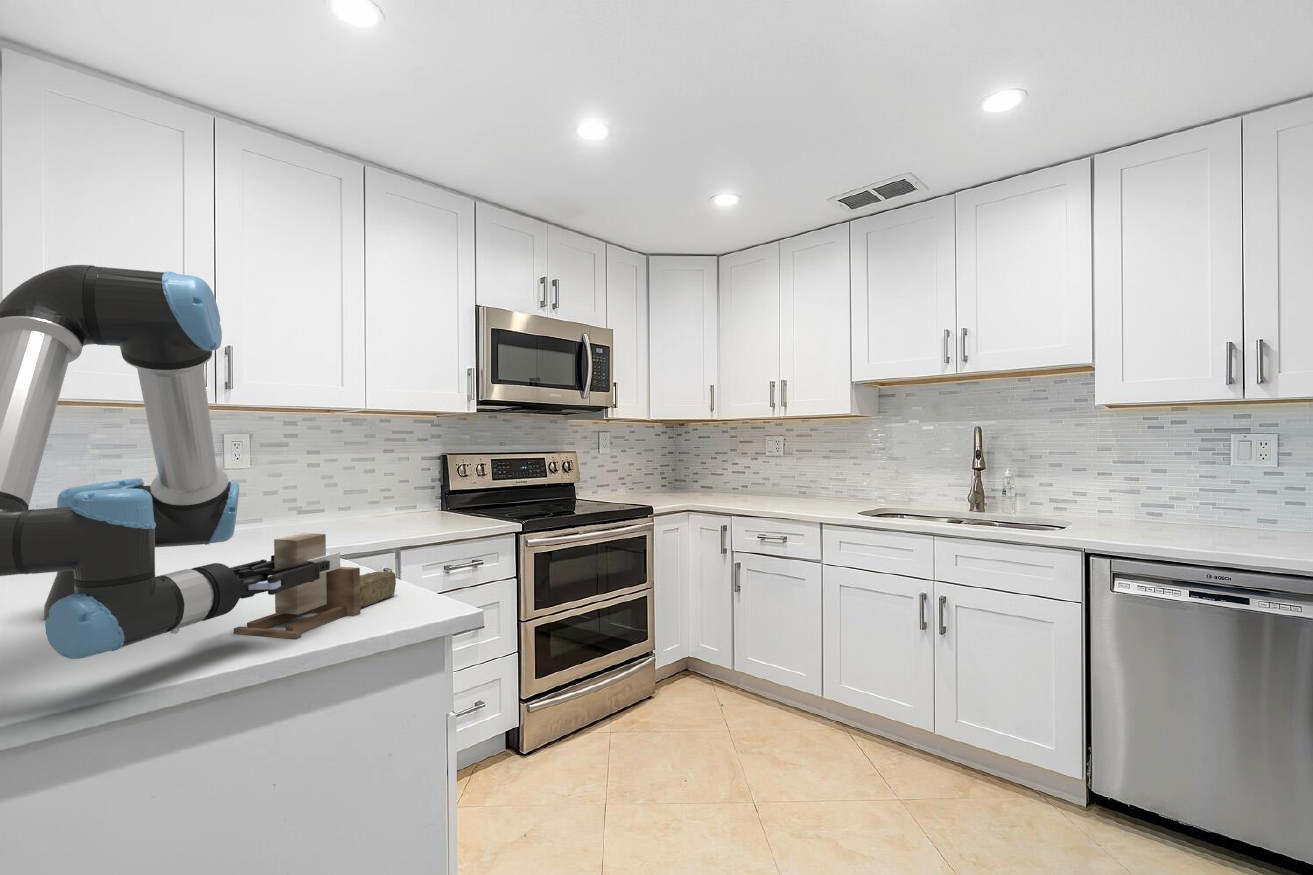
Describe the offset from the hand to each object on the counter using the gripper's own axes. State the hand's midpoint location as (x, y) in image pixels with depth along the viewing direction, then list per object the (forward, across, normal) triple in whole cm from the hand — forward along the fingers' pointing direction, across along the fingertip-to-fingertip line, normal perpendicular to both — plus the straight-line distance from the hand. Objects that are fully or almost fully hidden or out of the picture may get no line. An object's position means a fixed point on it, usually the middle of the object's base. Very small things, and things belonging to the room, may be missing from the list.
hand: (325, 559), depth 108 cm
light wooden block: (-5, 0, -7) cm, 9 cm away
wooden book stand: (-5, 0, -9) cm, 11 cm away
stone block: (+8, +1, -10) cm, 13 cm away
